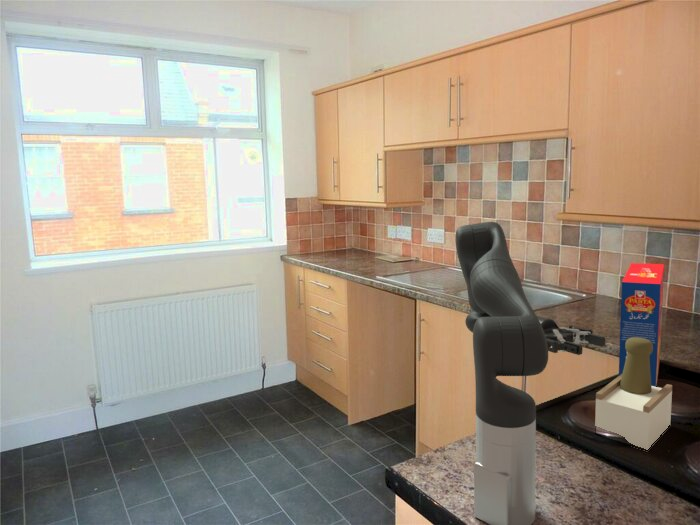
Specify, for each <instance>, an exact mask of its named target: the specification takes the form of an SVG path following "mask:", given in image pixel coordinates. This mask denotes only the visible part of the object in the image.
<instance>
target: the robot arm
mask: <svg viewBox="0 0 700 525" xmlns="http://www.w3.org/2000/svg"><path fill="white" fill-rule="evenodd" d="M454 237H455V239H454V240H455V248H456V254H457V259H458V262H459V266H460V269H461V272H462V276H463V278H464V282H465V284H466V288H467V297H468V303H469V307H470V308H471V311H470V312H469V313H468V315H466V318H465V321H464V322H465V326H466V328H467V329H468V331H470V332H471V333H472V350H473V362H474V375H475V376H474V378H475V451H476V452H475V458H476V460H475V461H476V462H474V464H473V501H474V502H473V505H474V506H473V510H474V517H475V518H477V519H478V520H481V521H483V522H485V523H486V524H488V525H532V524H533V523H534V521H535V519H536V455H537V454H536V451H537V450H536V444H537V441H536V438H537V437H536V436H537V435H536V434H537V433H536V432H537V429H536V428H537V424H536V423H537V421H536V420H537V405H536V401H535V399H534V397H532V395H530V394H529V393H527V392H525V391H524V390H522V389H519V388H516V387H514V386H511V385H509V384H506V383H504V382H502V381H501V380H499V379H498V378H497V377H531V376H536V375H539V374H542V373H543V371H544V370H545V369H546V367H547V364H548V362H549V352H550V353H553V354H556V353H559V352H561V353H566V352H567V353H570V354H573V355H577V356H580V355H582V354H583V345H582V344H580V343H583V344H584V343H585V344H589V345H594V346H597V347H605V346H606V337H605V336H602V335H597V334H593V333H594V331H593V329H590V328H585V327H580V326H577V325H572V324H570V325H568V327H565V326H560V327H559V326H558V324H557V323H556V322H555V320H554V319H553V318H548V317H545V316H541V315H536V313H535V311H534V309H533V308H532V306H531V304H530V302H529V301H528V299H527V297H526V294H525V291H524V287H523V284H522V281H521V279H520V276H519V274H518V271H517V269H516V267H515V264H514V263H513V260H512V258H511V256H510V251H509V247H508V243H507V240H506V235H505V232H504V229H503V227H502V226H501V224H499V223H498V222H495V221H486V222H479V223H472V224H464V225H460V226H459V227H457V229H456V231H455V236H454ZM574 338H575V339H574ZM558 351H559V352H558Z"/></svg>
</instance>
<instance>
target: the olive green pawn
mask: <svg viewBox="0 0 700 525" xmlns="http://www.w3.org/2000/svg"><path fill="white" fill-rule="evenodd" d="M625 348H626V351H627V352H628V353H627V357H626V361H625V365H624V370H623V374H622V378H621V382H620V387H621V388H622V389H624V390H626V391H629V392H633V393H641V394H646V393H650V392H651V391H652V389H651V373H650V357H649V355H650V354H651V353H652V352H653V344H652V342H651V341H649V340H648V339H644V338H639V337H632V338H629V339H628V340H627V341H626V343H625Z"/></svg>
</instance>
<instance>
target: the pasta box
mask: <svg viewBox="0 0 700 525" xmlns="http://www.w3.org/2000/svg"><path fill="white" fill-rule="evenodd" d="M664 274H665V264H662V263H643V262H642V263H640V262H639V263H638V262H631V263H630V265H629V267H628V269H627V271H626V273H625V275H624V277H623V280H622V281H621V295H620V296H621V299H620V301H621V302H620V325H619V328H620V329H619V330H620V331H619V355H618V356H619V357H618V376H620V375H621V374H623V370H624V365H625V361H626V357H627V353H628V352H627V351H626V348H625V343H626V341H627V340H628V339H629V338H632V337H639V338H644V339H648V340H649V341H651V342H652V344H653V352H652V353H651V354H650V355H649V357H650V373H651V386H655V387H656V386H657V385H658V378H659V371H660V370H659V369H660V363H661V342H662V340H661V339H662V320H663V319H662V317H663V298H664V296H663V295H664V279H665V277H664V276H665V275H664ZM657 387H658V386H657Z"/></svg>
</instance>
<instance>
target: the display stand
mask: <svg viewBox="0 0 700 525" xmlns="http://www.w3.org/2000/svg"><path fill="white" fill-rule="evenodd" d="M621 378H622V374H621V375H620V376H619V375H617V377H616V378H614V379H613V380H612V381H610V382H609V383H608V384H606V385H605V386H604V387H602V388H601V389H600V390H598V391H597V392H595V411H594V412H595V415H594V416H595V418H594V421H595V422H594V427H595V426H597V427H600V428H602V429H605V430H607V431H611V432H614V433H617V434H619V435H621V436H623V437H625V439H626V440H627V441H628V442H629V443H631V444H633V445H635V446H638V447H641V448H644V449H646V450H648V449H649V448H650V447H651V445H652V444H653V443H654V442H655V441H656V440H657V439H658V438H659V437H660V435H661V434H662V433H663V432H664V431H665V430H666V429H667V428H668V426H669V425H670V426H671V421H672V420H671V419H672V418H671V416H672V399H673V398H672V397H673V396H672V395H673V385H672V384H668V383H667V384H665V385H664V386H663V387H659V386H657V387H655V386H651V389H652V391H651V392H650V393H646V394H641V393H633V392H629V391H626V390H624V389H622V388H621V387H620V382H621ZM668 429H669V428H668ZM668 429H667V430H668ZM667 430H666V431H667ZM666 431H665V432H666ZM665 432H664V433H665ZM664 433H663V434H664ZM663 434H662V435H663ZM660 438H661V437H660ZM660 438H659V439H660ZM659 439H658V440H659ZM658 440H657V441H658ZM657 441H656V442H657ZM656 442H655V443H656ZM655 443H654V444H655ZM654 444H653V445H654ZM653 445H652V446H653ZM651 448H652V447H651ZM651 448H650V449H651ZM650 449H649V450H650ZM649 450H648V451H649Z"/></svg>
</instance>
